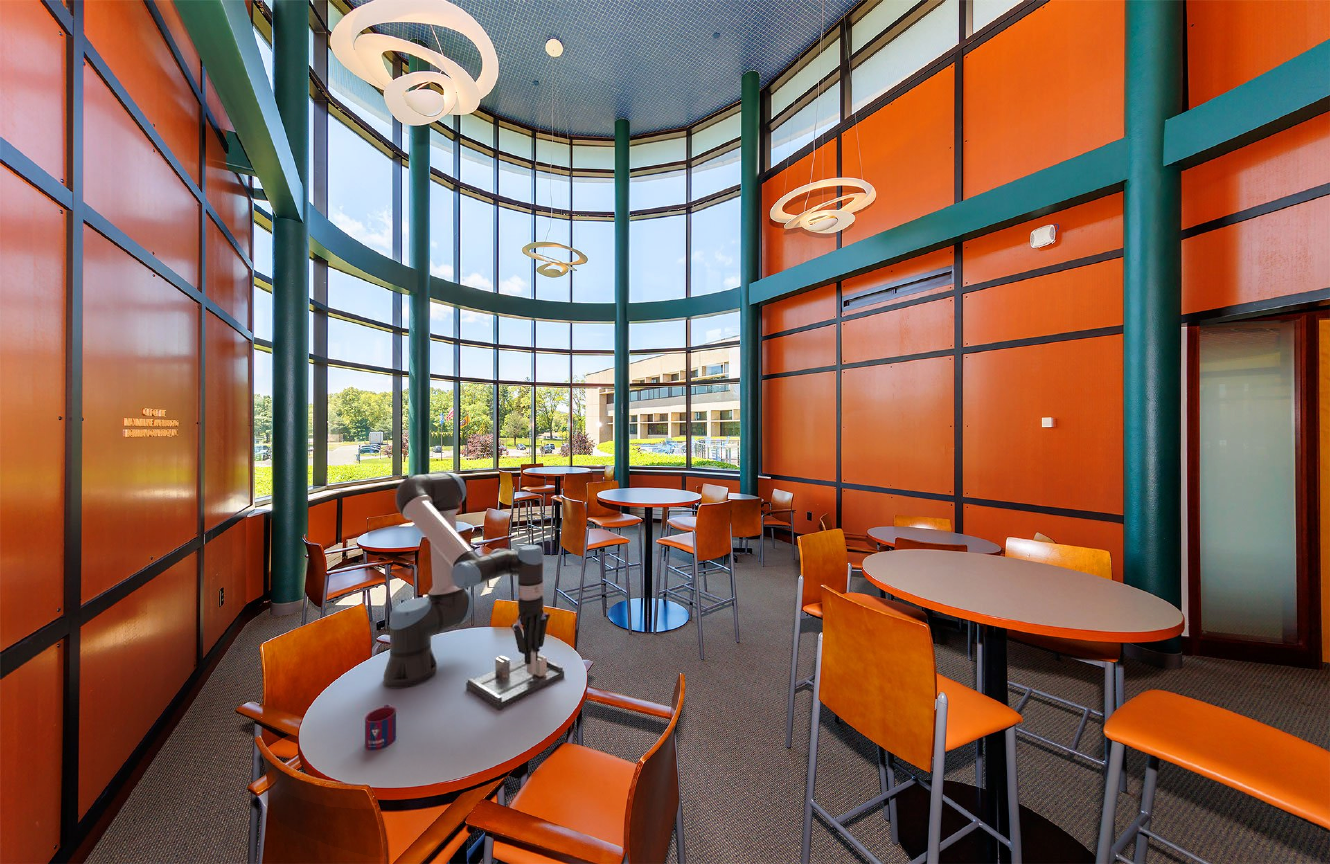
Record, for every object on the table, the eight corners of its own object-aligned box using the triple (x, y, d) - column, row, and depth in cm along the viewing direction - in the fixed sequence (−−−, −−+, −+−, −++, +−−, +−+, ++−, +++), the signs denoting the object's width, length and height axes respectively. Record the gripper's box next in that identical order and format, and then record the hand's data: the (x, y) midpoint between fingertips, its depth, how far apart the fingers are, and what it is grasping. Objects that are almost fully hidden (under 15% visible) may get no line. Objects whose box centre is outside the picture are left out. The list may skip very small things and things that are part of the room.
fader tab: (532, 672, 146) (532, 655, 146) (538, 669, 148) (538, 652, 148) (540, 676, 144) (539, 659, 144) (546, 673, 146) (546, 656, 146)
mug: (360, 751, 113) (360, 723, 114) (377, 726, 123) (377, 701, 123) (390, 747, 115) (390, 720, 115) (404, 723, 125) (404, 698, 125)
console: (466, 689, 141) (466, 664, 141) (530, 660, 159) (530, 639, 159) (499, 710, 130) (498, 683, 130) (564, 677, 148) (564, 653, 148)
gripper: (519, 604, 137) (520, 685, 136) (555, 593, 147) (555, 668, 146) (505, 599, 141) (505, 677, 141) (540, 588, 151) (541, 661, 151)
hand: (531, 672), depth 144 cm, fingers closed
